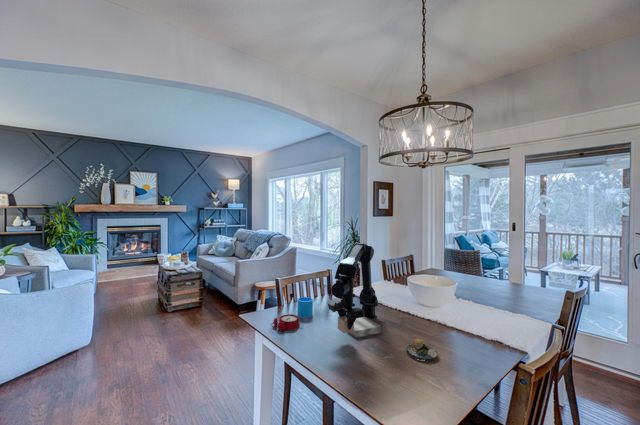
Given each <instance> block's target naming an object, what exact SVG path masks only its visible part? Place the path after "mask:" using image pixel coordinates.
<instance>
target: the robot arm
mask: <svg viewBox="0 0 640 425" xmlns="http://www.w3.org/2000/svg"><path fill="white" fill-rule="evenodd" d="M374 254H375V249H374V247H373V246H371V245H369V244H366V243H364V242H355V243H354V246H353V249H352V250H351V251H350V253H349V254H348V256H347V258H344V259H342V260H341V261H340V262H339V264H338V266H337V268H336V272H335V276H334V280H335V283H333V284H332V286H331V288H330V291H331V294H332V296H333V298H331V299H330V300H329V301H327V302H326V303H327V307H328V309H329V310H330V311H331V312H332V313H337V314H338V317H342V316H345V317H346V318H347V327H348V330H350V329H351V328H352V326H353V324H354V322H355V320H356V319H357V318H361V317H364V316H365V317H366V318H368V319H373V318H377V317H378V316H377V315H376V307H378V306H379V300H378V296H377V295H376V290H375V289H374V288H373V285H372V268H371V267H372V266H371V261H372V259H373V258H374ZM359 262H360V266H361V280H362V281H361V282H362V283H361V284H362V289H361V291H360V293H359V305H361V306H362V307H356V304H355V303H354V298H355V297H356V294H355V293H354V280H355V278H356V276H357V273H358V267H357V264H358V263H359ZM334 297H335V298H334Z"/></svg>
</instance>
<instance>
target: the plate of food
mask: <svg viewBox="0 0 640 425" xmlns="http://www.w3.org/2000/svg"><path fill="white" fill-rule="evenodd" d="M414 338H415V340H414V341H413V343H412V344H409V345H408V346H406V350H405V353H406V355H407V356H408V357H409V356H410V357H409V358H410V359H412V358H414V359H413V360H415V359H419V360H425V361H431V360H432V359H436V357H437V356H438V351H437V350H436V349H434V348H433V347H431V346H429V345H427V344H425V343H424V340H423V339H422V338H417V337H416V336H415V337H414Z"/></svg>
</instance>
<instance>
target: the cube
mask: <svg viewBox="0 0 640 425" xmlns="http://www.w3.org/2000/svg"><path fill="white" fill-rule="evenodd" d="M337 329H338V330H339V331H341V332H342V333H343V334H347V333H348V332H352V331H354V324H353V326H352V328H351V329H350V330H348V327H347V318H346V317H345V316H342V317H339V316H338V317H337Z"/></svg>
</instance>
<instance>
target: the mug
mask: <svg viewBox="0 0 640 425" xmlns="http://www.w3.org/2000/svg"><path fill="white" fill-rule="evenodd" d="M313 302H314V299H313V298H312V297H309V296H302V297H299V298H297V311H296V312H297V315H296V316H298V317H300V318H309V317H312V316H313V314H314V313H313V311H314V310H313V309H314V306H313V305H314V304H313Z"/></svg>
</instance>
